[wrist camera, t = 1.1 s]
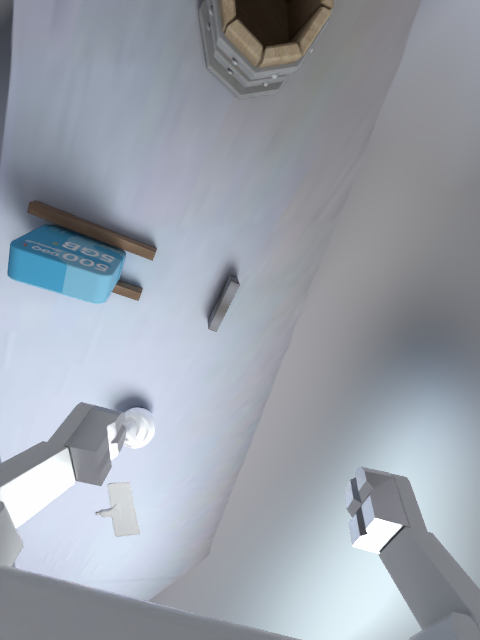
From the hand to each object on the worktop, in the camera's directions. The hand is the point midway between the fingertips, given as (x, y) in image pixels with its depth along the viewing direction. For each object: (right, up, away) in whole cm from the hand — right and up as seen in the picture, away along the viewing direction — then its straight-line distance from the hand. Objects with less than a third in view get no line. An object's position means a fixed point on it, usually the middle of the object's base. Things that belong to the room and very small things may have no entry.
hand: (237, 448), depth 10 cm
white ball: (-22, -16, +57) cm, 63 cm away
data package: (-25, +16, +38) cm, 48 cm away
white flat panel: (-27, -48, +74) cm, 92 cm away
